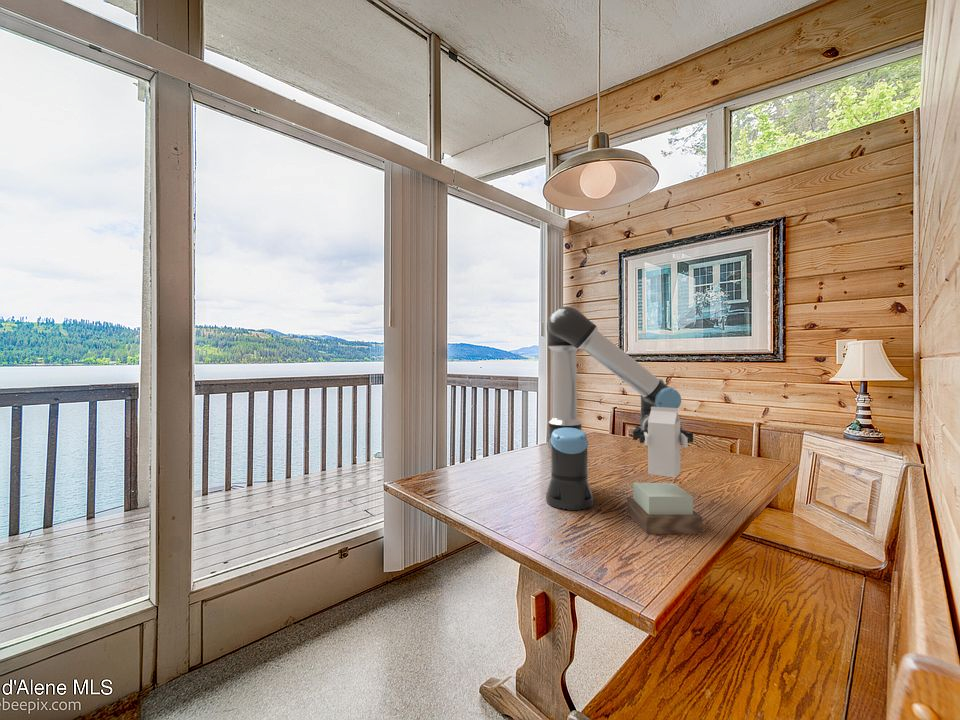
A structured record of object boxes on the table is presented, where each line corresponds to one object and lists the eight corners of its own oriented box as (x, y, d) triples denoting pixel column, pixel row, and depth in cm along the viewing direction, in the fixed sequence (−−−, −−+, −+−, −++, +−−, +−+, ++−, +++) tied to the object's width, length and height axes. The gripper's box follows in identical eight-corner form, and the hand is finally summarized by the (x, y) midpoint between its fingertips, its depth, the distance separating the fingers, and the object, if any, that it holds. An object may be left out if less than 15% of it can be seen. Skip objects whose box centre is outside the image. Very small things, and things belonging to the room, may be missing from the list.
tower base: (646, 535, 111) (646, 517, 111) (627, 514, 126) (627, 497, 126) (702, 535, 111) (702, 517, 111) (676, 513, 126) (676, 497, 126)
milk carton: (675, 478, 114) (674, 409, 113) (648, 474, 118) (647, 408, 118) (680, 472, 119) (680, 406, 119) (654, 468, 123) (654, 405, 123)
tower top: (648, 514, 113) (648, 496, 113) (633, 499, 125) (633, 482, 125) (692, 514, 113) (692, 496, 113) (672, 499, 125) (672, 482, 125)
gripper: (692, 440, 133) (710, 457, 111) (621, 437, 139) (625, 453, 117) (692, 417, 133) (710, 429, 111) (621, 415, 139) (624, 427, 117)
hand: (666, 441), depth 114 cm, fingers closed on milk carton, 9 cm apart
